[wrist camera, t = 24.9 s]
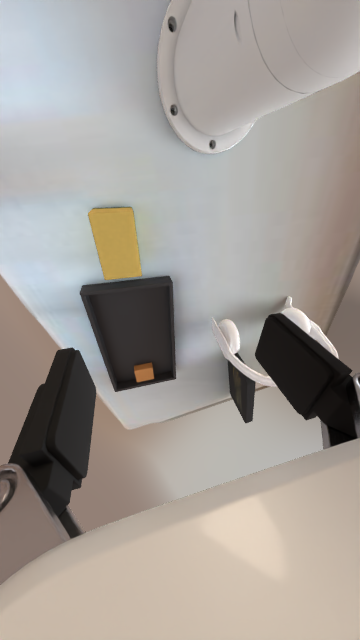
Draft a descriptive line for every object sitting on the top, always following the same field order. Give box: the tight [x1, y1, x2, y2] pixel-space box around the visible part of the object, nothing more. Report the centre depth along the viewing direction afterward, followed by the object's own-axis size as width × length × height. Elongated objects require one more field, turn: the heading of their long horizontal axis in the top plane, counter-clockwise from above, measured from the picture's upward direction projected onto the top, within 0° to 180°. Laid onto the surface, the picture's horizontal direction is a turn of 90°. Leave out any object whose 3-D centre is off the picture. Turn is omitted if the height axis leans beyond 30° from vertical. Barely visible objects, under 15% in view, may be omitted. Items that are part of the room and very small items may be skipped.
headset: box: [212, 296, 338, 387], centre depth 37 cm, size 20×7×18 cm, turn 92°
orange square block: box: [134, 362, 154, 382], centre depth 44 cm, size 4×4×2 cm
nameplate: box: [228, 353, 255, 423], centre depth 51 cm, size 21×2×10 cm, turn 12°
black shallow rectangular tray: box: [80, 276, 176, 392], centre depth 38 cm, size 25×14×3 cm, turn 1°
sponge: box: [88, 207, 142, 280], centre depth 26 cm, size 8×5×5 cm, turn 1°
